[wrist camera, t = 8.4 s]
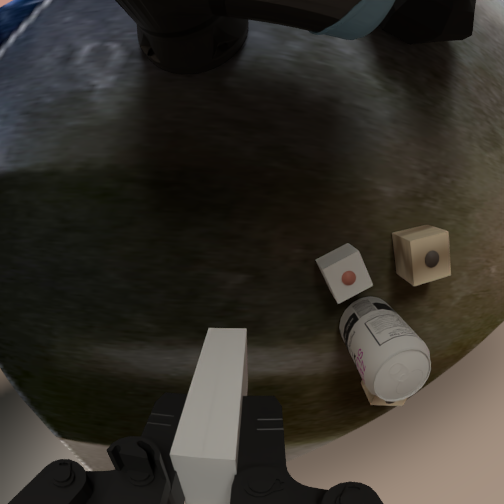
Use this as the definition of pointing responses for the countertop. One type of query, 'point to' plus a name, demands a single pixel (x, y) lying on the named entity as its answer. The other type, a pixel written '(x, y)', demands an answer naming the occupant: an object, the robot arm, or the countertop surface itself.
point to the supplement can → (384, 349)
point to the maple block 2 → (422, 254)
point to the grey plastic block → (344, 272)
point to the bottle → (430, 20)
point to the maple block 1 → (377, 401)
